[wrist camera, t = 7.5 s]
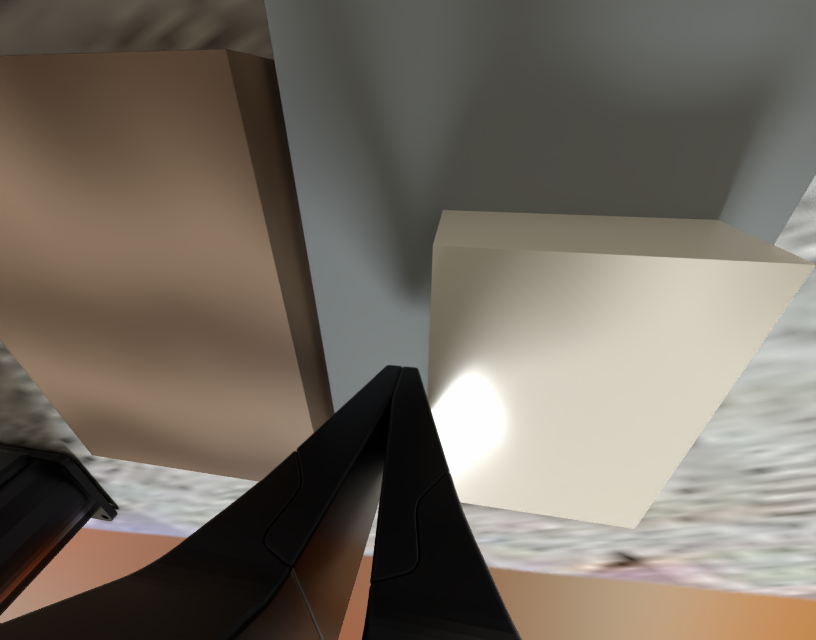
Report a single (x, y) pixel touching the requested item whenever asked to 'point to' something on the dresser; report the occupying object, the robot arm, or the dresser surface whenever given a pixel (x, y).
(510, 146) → the mat
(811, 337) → the dresser surface
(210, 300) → the board
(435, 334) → the tile
